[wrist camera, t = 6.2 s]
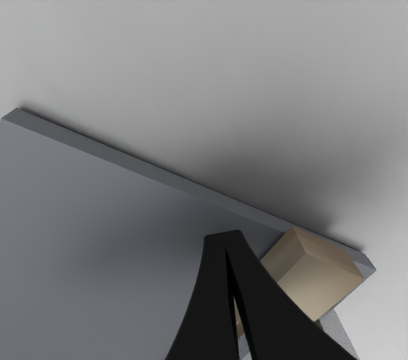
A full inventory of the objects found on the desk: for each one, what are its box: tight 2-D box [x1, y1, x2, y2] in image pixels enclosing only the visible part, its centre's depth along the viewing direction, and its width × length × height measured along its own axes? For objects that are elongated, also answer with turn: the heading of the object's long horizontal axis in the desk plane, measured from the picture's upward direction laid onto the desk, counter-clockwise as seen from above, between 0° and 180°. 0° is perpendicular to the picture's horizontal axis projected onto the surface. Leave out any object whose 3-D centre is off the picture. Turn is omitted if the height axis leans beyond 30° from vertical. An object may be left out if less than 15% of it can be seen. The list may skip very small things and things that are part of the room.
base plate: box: [0, 108, 376, 360], centre depth 15 cm, size 16×16×1 cm
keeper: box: [238, 307, 360, 360], centre depth 14 cm, size 3×6×3 cm, turn 62°
